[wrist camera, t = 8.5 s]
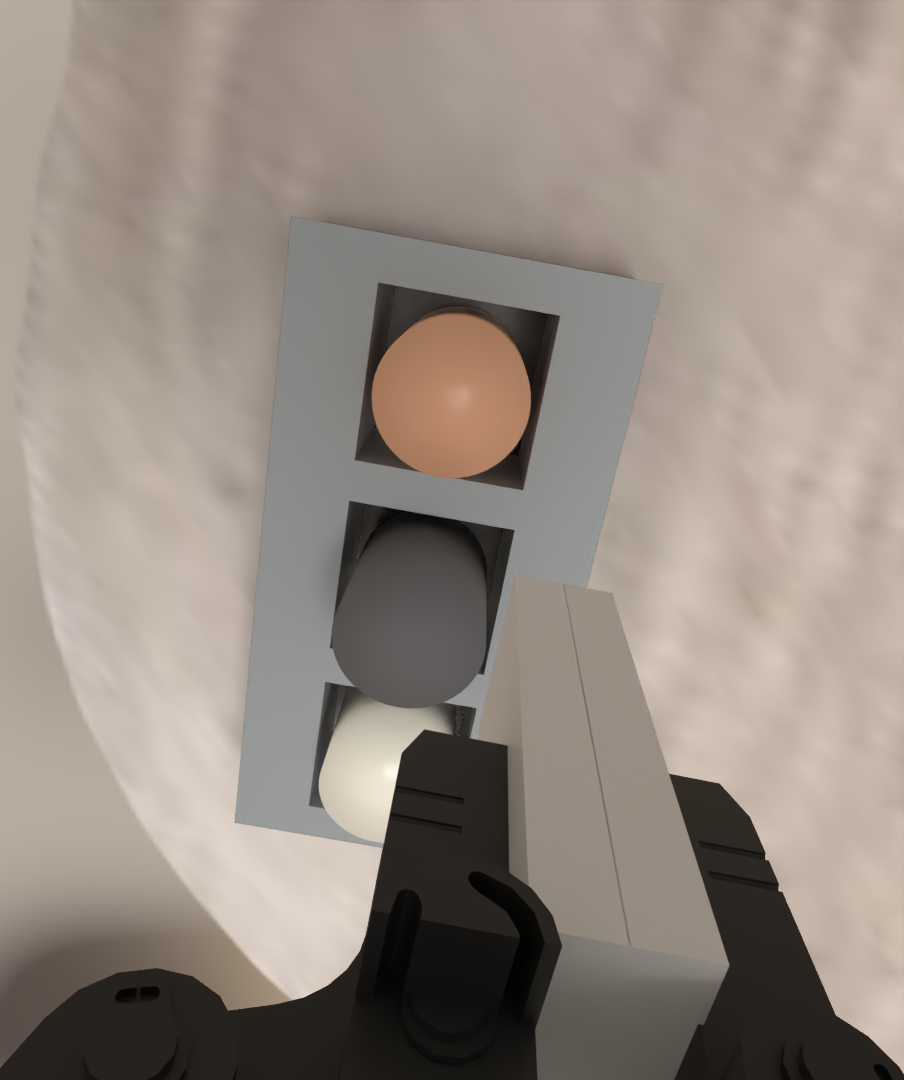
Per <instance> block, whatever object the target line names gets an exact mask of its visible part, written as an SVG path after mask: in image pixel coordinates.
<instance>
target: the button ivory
mask: <svg viewBox="0 0 904 1080" xmlns="http://www.w3.org/2000/svg"><path fill="white" fill-rule="evenodd" d="M455 716H456V704H450V703H444V702H443V703H440V704H438V705H434V706H430V707H425V708H400V707H394V706H390V705H386V704H384V703H381V702H378V701H376V700H374V699H372V698H370V697H368V696H367V695H365V694H364V693H362V692H361V691H360V690H358V689H357V688H356V687H352V686H348V689H347V692H346V695H345V698H344V701H343V704H342V707H341V710H340V713H339V717H338V720H337V723H336V726H335V729H334V732H333V735H332V738H331V741H330V744H329V747H328V750H327V753H326V757H325V760H324V763H323V766H322V769H321V772H320V777H319V794H320V798H321V801H322V803H323V806H324V808H325V809H326V811H327V813H328V814H329V815H330V817H331V818H332V819H333V820H334V821H335V822H336V823H337V824H338V825H339V826H340V827H342V828H343V829H344V830H346V831H347V832H349V833H351V834H353V835H355V836H357V837H359V838H362V839H365V840H369V841H373V842H380V843H384V839H385V834H386V829H387V824H388V819H389V814H390V809H391V804H392V799H393V794H394V789H395V784H396V779H397V774H398V769H399V764H400V759H401V754H402V752H403V751H404V750H405V749H406V748H407V747H408V746H409V745H410V744H411V743H412V742H413V741H414V740H415V739H416V737H417V736H418V735H419V734H420V733H421V732H422V731H423V730H424V729H425V730H430V731H436V732H441V733H446V734H451V735H454V730H455Z"/></svg>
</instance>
